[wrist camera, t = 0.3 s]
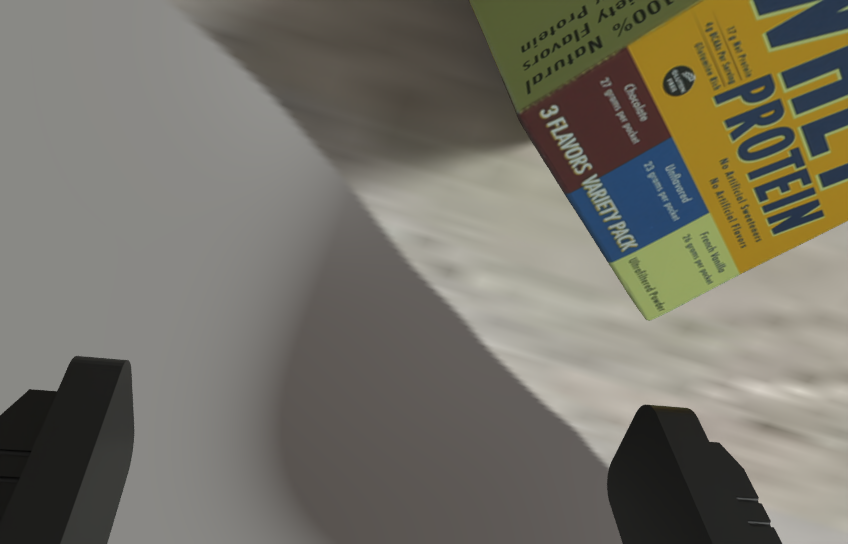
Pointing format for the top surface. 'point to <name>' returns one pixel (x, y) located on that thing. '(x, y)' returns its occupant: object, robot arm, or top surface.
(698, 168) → the protein box
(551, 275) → the top surface
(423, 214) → the top surface
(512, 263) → the top surface
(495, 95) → the top surface
